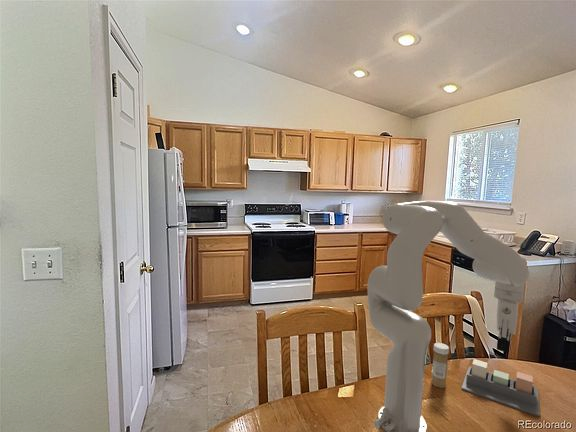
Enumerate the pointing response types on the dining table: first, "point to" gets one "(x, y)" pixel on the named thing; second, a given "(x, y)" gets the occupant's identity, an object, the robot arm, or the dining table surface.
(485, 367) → the cream button
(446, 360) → the sprinkles bottle
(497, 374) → the green button
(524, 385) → the terracotta button
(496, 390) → the button panel
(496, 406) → the dining table surface
